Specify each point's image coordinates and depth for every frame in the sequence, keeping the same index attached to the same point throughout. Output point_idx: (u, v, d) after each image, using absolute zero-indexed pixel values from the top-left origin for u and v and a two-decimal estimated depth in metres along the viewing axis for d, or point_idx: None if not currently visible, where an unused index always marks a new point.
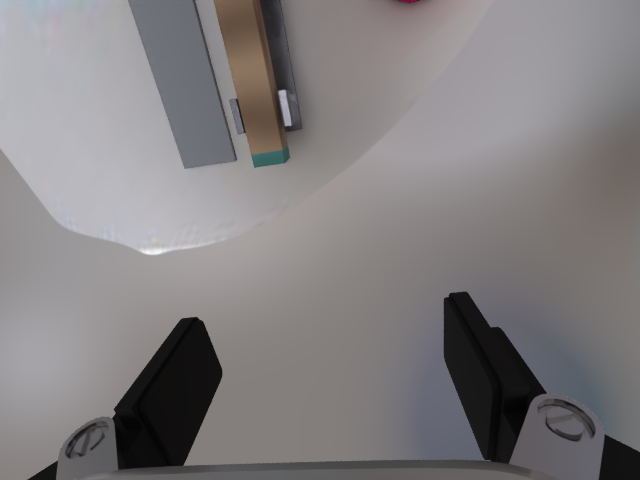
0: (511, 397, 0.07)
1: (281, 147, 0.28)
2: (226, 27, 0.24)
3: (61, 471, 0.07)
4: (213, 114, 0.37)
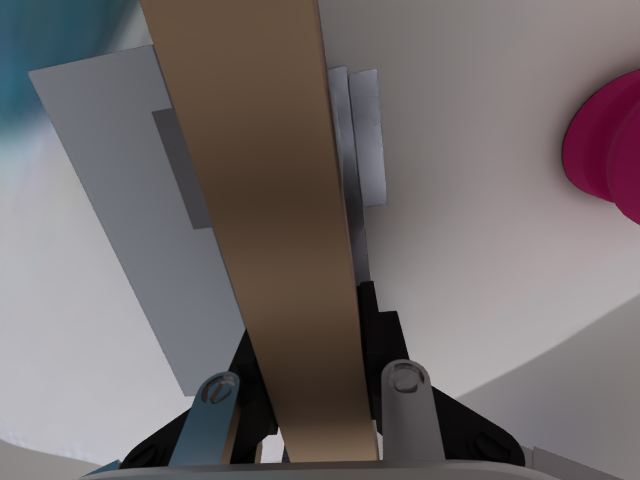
0: (373, 363, 0.08)
1: None
2: (289, 409, 0.10)
3: (193, 409, 0.08)
4: (232, 337, 0.22)
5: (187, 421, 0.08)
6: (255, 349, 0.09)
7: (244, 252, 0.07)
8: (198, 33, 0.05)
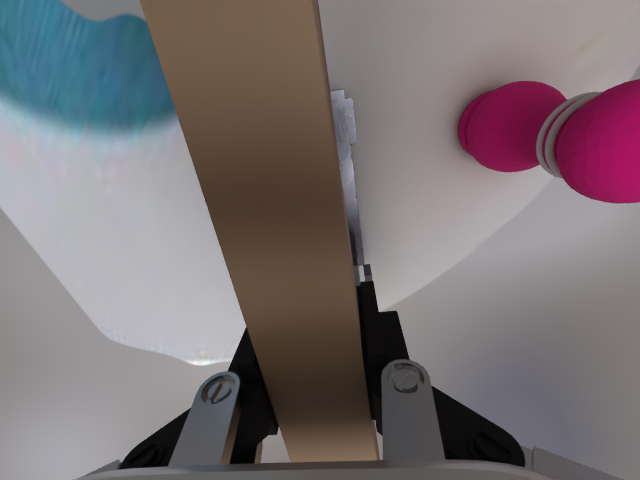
0: (373, 363, 0.08)
1: None
2: (289, 409, 0.10)
3: (193, 409, 0.08)
4: None
5: (187, 421, 0.08)
6: (255, 349, 0.09)
7: (245, 253, 0.07)
8: (199, 35, 0.06)
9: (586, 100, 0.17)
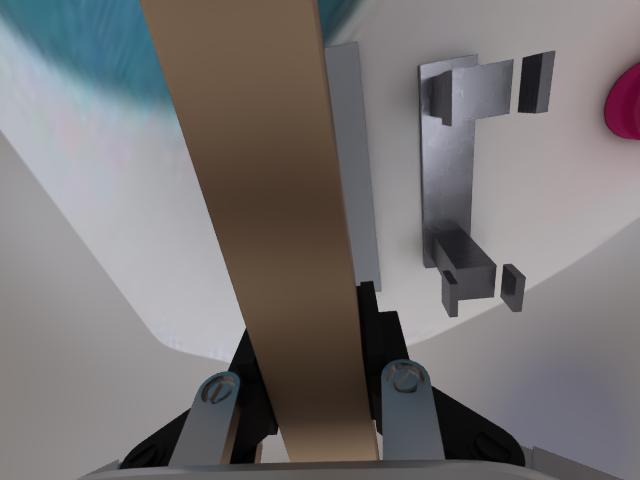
0: (373, 363, 0.08)
1: None
2: (289, 410, 0.10)
3: (193, 408, 0.08)
4: (365, 246, 0.32)
5: (187, 421, 0.08)
6: (255, 351, 0.09)
7: (245, 254, 0.07)
8: (199, 37, 0.06)
9: None
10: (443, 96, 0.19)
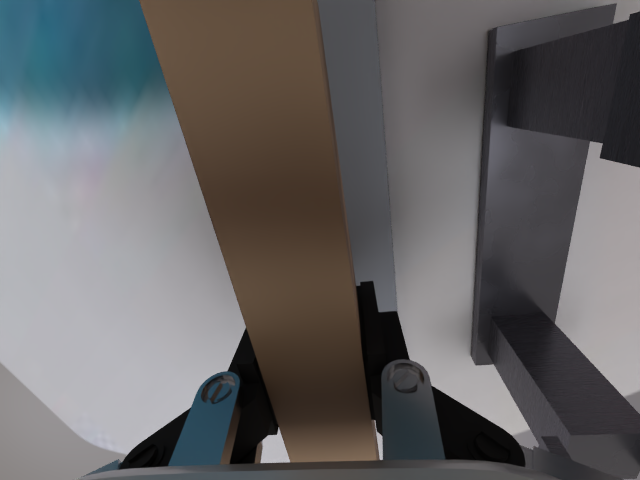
0: (373, 363, 0.08)
1: None
2: (289, 411, 0.10)
3: (193, 408, 0.08)
4: None
5: (187, 421, 0.08)
6: (255, 351, 0.09)
7: (245, 255, 0.07)
8: (199, 38, 0.06)
9: None
10: (629, 84, 0.07)
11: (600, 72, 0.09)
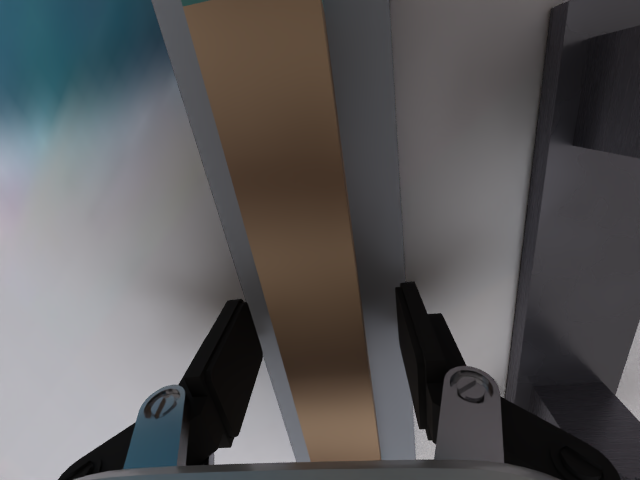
0: (431, 370, 0.08)
1: None
2: (298, 367, 0.11)
3: (137, 428, 0.08)
4: (388, 400, 0.16)
5: (132, 441, 0.07)
6: (269, 312, 0.10)
7: (263, 225, 0.09)
8: (232, 44, 0.07)
9: None
10: None
11: None
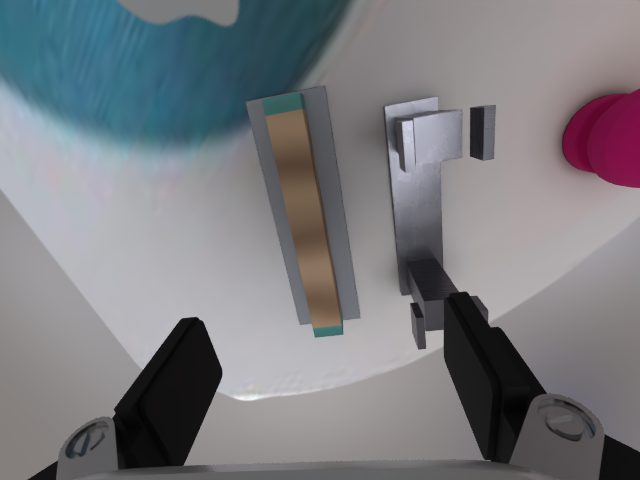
0: (511, 397, 0.07)
1: (340, 323, 0.31)
2: (298, 240, 0.28)
3: (61, 471, 0.07)
4: (342, 275, 0.32)
5: None
6: None
7: (286, 181, 0.26)
8: (278, 125, 0.24)
9: None
10: (398, 143, 0.20)
11: None
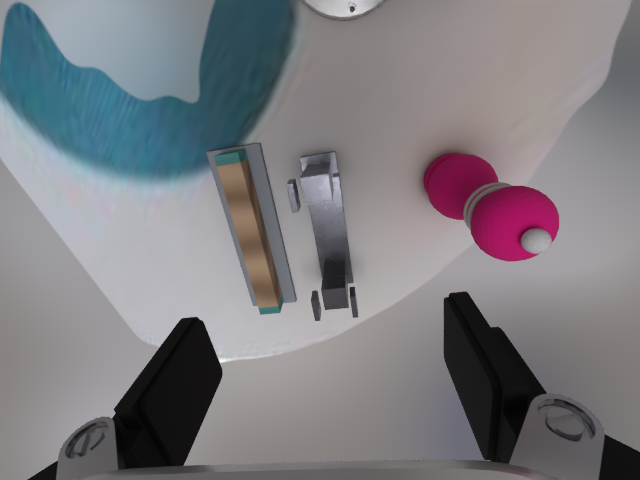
0: (511, 397, 0.07)
1: (277, 304, 0.44)
2: (244, 246, 0.41)
3: (61, 471, 0.07)
4: (281, 270, 0.45)
5: None
6: None
7: (233, 207, 0.38)
8: (225, 172, 0.37)
9: (490, 190, 0.26)
10: None
11: None
